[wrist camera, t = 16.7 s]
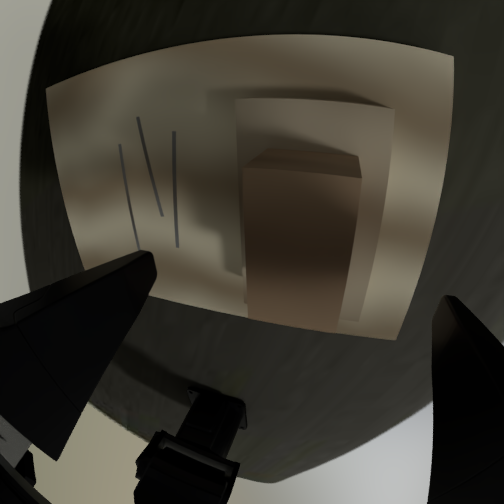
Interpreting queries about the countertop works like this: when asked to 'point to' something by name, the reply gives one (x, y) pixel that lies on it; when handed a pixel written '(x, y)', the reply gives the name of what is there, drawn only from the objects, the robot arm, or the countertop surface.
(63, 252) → the countertop surface
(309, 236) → the block
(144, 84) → the board
